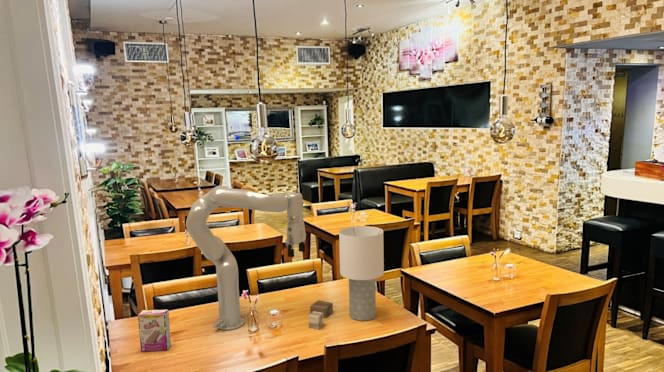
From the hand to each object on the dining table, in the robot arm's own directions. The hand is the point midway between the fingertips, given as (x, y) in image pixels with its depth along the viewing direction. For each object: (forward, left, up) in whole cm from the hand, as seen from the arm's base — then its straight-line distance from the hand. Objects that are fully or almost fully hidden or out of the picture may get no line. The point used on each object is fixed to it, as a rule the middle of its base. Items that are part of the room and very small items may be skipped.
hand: (296, 254), depth 214 cm
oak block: (-8, -14, -31) cm, 34 cm away
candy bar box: (-53, +38, -31) cm, 72 cm away
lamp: (+11, -29, -31) cm, 43 cm away
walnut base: (+5, -10, -31) cm, 33 cm away
